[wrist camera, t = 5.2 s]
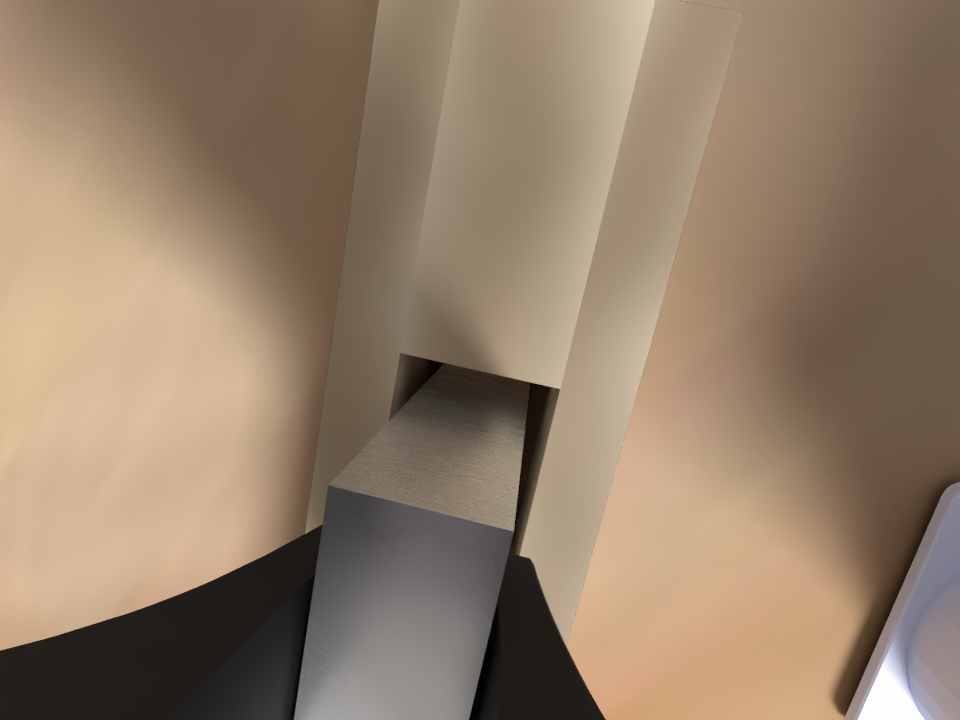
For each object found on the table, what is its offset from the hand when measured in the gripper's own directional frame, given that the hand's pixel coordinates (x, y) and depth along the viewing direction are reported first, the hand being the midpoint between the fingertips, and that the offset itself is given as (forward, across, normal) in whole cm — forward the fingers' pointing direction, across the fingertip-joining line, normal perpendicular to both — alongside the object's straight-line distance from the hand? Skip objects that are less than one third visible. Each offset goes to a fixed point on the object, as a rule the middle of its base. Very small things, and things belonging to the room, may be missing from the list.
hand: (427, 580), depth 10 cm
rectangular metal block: (+5, 0, 0) cm, 5 cm away
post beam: (+5, 0, 0) cm, 5 cm away
